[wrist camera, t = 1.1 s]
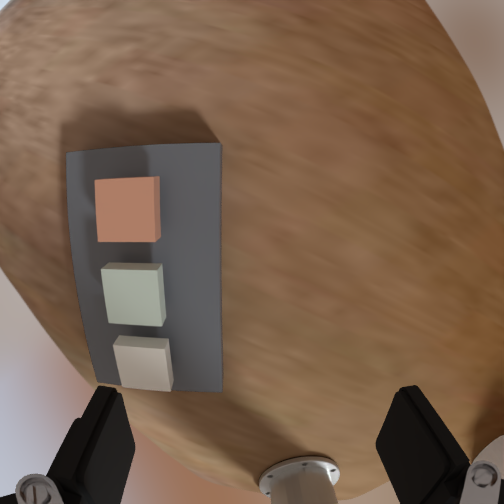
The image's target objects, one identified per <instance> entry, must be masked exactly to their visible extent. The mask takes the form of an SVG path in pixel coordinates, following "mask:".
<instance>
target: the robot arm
mask: <svg viewBox="0 0 504 504" xmlns="http://www.w3.org/2000/svg"><path fill="white" fill-rule="evenodd" d="M376 449H377V452H378V454H379V456H380V458H381V461H382V463H383V465H384V467H385V470H386V472H387V474H388V477H389V479H390V481H391V483H392V485H393V488H394V490H395V493H396V495H397V497H398V500H399V502H400V504H504V479H501V473H500V470H499V469H498V467H497V466H496V465H495V464H493V463H492V462H489V461H483V460H481V461H476V462H475V463H473V464H472V465H470V463H469V461H470V460H469V459H468V457H467V456H466V454H465V453H464V451H463V450H462V448H461V447H460V445H459V444H458V442H457V441H456V439H455V438H454V437H453V435H452V434H451V432H450V431H449V429H448V428H447V426H446V425H445V424H444V422H443V421H442V419H441V418H440V417H439V415H438V414H437V412H436V411H435V409H434V408H433V407H432V405H431V404H430V402H429V401H428V400H427V398H426V397H425V396H424V394H423V393H422V391H421V390H420V389H419V387H418V386H416V385H413V386H407V387H402V388H400V389H399V391H398V392H396V394H395V396H394V398H393V401H392V404H391V406H390V409H389V411H388V414H387V416H386V419H385V421H384V423H383V426H382V428H381V430H380V433H379V435H378V437H377V440H376ZM134 453H135V442H134V438H133V435H132V431H131V428H130V424H129V421H128V417H127V413H126V410H125V406H124V402H123V398H122V394H121V393H117V390H116V388H112V387H106V386H98V387H97V389H96V391H95V392H94V394H93V396H92V398H91V400H90V402H89V404H88V406H87V408H86V410H85V411H84V413H83V415H82V417H81V418H77V419H75V421H74V422H73V424H72V425H71V427H70V429H69V431H68V433H67V435H66V437H65V439H64V441H63V443H62V445H61V447H60V449H59V451H58V453H57V455H56V457H55V459H54V461H53V463H52V465H51V467H50V469H49V471H48V473H47V475H46V476H44V475H41V474H30V475H27V476H24V477H23V478H22V479H21V480H19V482H18V484H17V485H16V490H15V492H16V493H14V494H10V495H7V496H3V497H0V504H120V503H121V499H122V495H123V492H124V488H125V485H126V481H127V477H128V474H129V470H130V467H131V463H132V459H133V456H134ZM339 476H340V471H339V468H338V465H337V464H336V463H335V462H334V461H332V460H330V459H327V458H324V457H316V456H308V457H299V458H293V459H289V460H286V461H283V462H280V463H278V464H276V465H274V466H272V467H270V468H269V469H267V470H266V471H265V472H264V473H263V474H262V475H261V477H260V479H259V488H260V491H261V492H262V493H263V494H264V495H266V496H267V497H270V498H271V504H338V501H337V498H336V494H335V491H334V487H333V485H334V484H335V483H336V482H337V480H338V479H339Z"/></svg>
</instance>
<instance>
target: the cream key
mask: <svg viewBox="0 0 504 504" xmlns="http://www.w3.org/2000/svg"><path fill="white" fill-rule="evenodd" d="M113 348H114V353H115V358H116V362H117V367H118V371H119V375H120V380H121V384H122V387H126V388H135V389H144V390H155V391H167V392H171V389H172V385H173V381H174V378H173V371H172V363H171V355H170V346H169V339H168V338H150V337H136V336H123V335H119V336H118V338H117V339H116V341H115V342H114V344H113Z"/></svg>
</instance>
